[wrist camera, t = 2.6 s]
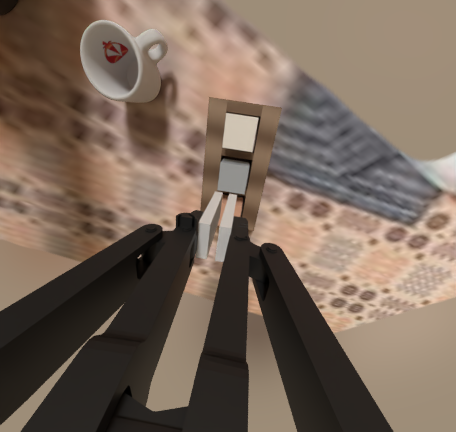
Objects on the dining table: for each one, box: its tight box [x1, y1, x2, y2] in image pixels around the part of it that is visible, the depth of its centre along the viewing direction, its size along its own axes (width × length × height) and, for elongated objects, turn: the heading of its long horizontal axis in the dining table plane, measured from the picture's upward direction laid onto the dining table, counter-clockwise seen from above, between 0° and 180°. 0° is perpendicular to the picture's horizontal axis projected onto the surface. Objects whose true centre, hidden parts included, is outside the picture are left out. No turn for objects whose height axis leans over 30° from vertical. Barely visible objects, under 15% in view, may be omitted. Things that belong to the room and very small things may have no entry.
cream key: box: [222, 113, 258, 152], centre depth 27 cm, size 4×4×4 cm
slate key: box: [217, 158, 249, 194], centre depth 30 cm, size 4×4×4 cm
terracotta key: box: [217, 194, 243, 226], centre depth 33 cm, size 4×4×4 cm
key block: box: [201, 97, 282, 231], centre depth 33 cm, size 21×11×3 cm, turn 172°
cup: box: [80, 20, 168, 103], centre depth 25 cm, size 11×8×8 cm
